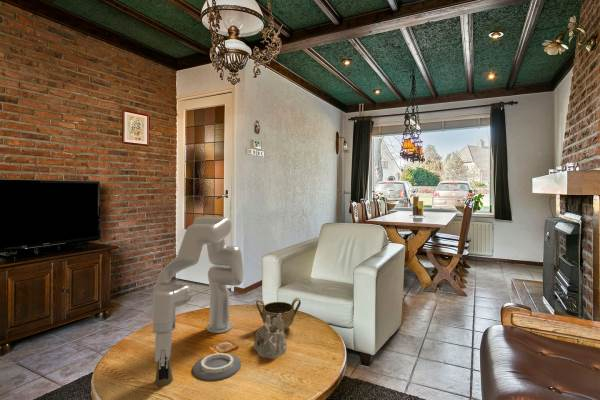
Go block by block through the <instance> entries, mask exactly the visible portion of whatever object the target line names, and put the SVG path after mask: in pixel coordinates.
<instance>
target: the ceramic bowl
mask: <svg viewBox="0 0 600 400" xmlns="http://www.w3.org/2000/svg"><path fill="white" fill-rule="evenodd" d="M296 302H298V303H297V305H296V307H295V304H296ZM259 303H261V304H262V310H261V308H260V306H259ZM301 303H302V301H301V298H299V297H295V298H293V300H292V302H291V303H289V302H286V301H272V302H268V303H266V304H265V302H264V300H263V299H261V298H258V299H257V300H256V303H255V305H256V308H257V309H258V313H259V315H260V317H261V320H262V323H263V325H264V324H265V322H266V316H267V315H269V316H270V324H271V326H272V323H273V319H274V318H276V317H277V315H279V313H281V320H283V322H284V330H287V329H288V328H290V327H291V326H292V324H293V323H294V319H295V317H296V314H297V313H298V310H299V309H300V306H301ZM294 307H295V308H294Z"/></svg>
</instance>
